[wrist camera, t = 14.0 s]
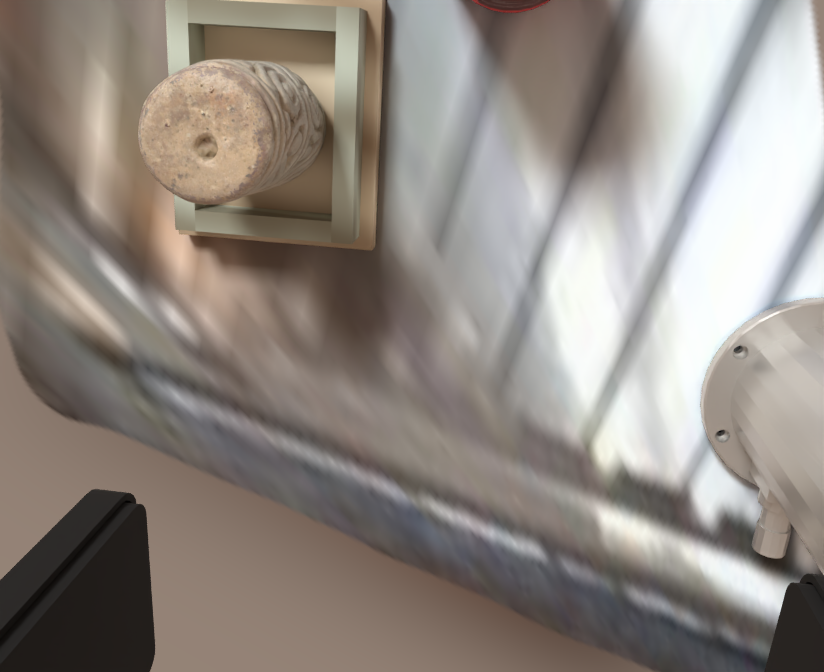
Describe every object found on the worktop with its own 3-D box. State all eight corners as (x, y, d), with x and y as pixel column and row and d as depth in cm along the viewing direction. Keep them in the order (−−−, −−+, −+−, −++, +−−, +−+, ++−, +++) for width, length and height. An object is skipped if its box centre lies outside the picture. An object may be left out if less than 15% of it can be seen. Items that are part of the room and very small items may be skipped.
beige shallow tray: (375, 246, 47) (365, 259, 44) (186, 230, 48) (163, 241, 45) (385, -3, 42) (375, -9, 39) (176, -14, 43) (149, -21, 40)
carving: (361, 118, 43) (309, 134, 32) (273, 209, 46) (196, 253, 34) (280, 32, 42) (198, 18, 31) (195, 129, 45) (90, 149, 33)
